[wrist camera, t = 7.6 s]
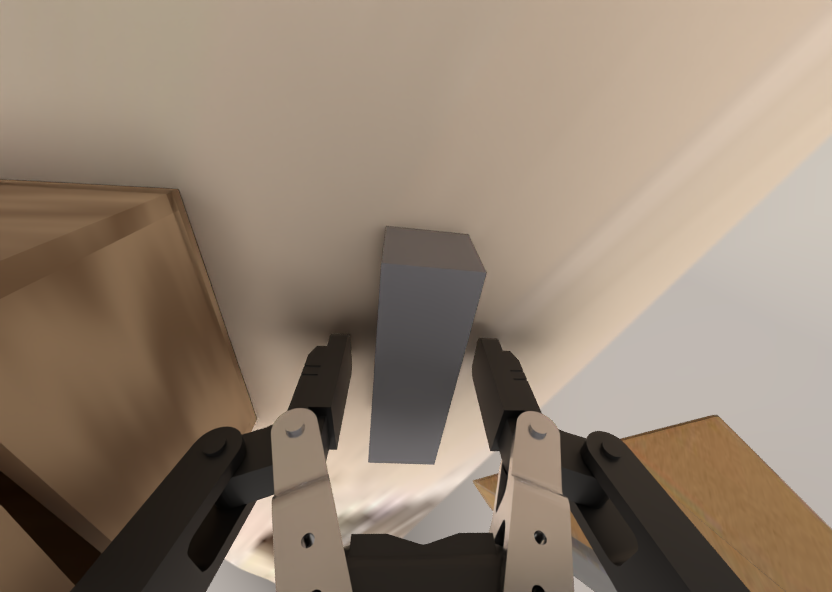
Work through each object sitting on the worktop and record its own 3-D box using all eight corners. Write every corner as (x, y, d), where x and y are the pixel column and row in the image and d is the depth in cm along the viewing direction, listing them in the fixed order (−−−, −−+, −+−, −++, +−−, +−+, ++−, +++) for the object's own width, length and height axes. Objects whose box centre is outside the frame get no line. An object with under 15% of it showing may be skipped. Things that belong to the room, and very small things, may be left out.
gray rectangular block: (386, 223, 11) (381, 262, 9) (467, 231, 12) (486, 272, 9) (374, 403, 17) (368, 462, 14) (429, 406, 17) (434, 464, 14)
